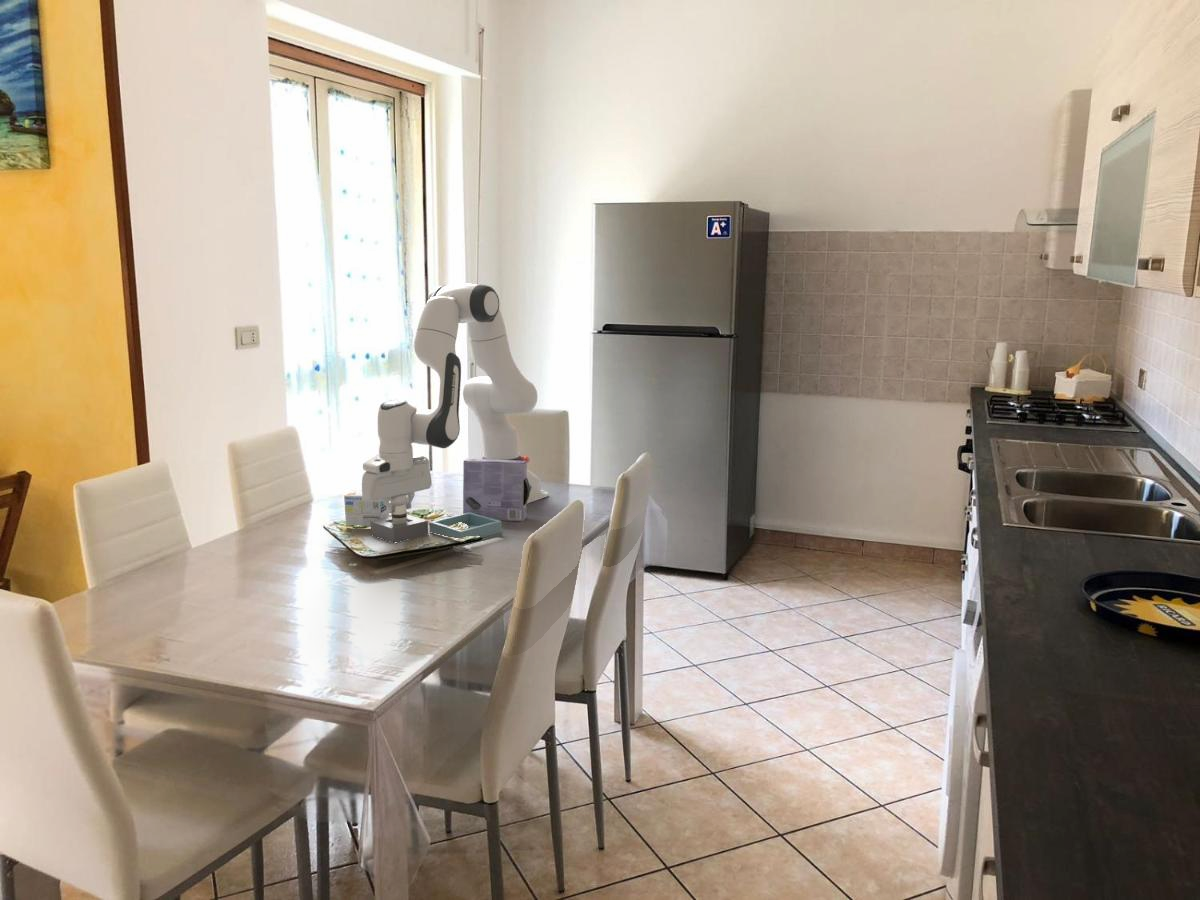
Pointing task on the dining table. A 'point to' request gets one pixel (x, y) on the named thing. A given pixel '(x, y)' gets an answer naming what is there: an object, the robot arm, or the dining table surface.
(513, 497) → the cake pan box
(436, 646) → the dining table surface
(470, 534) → the parts tray
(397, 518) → the white light bulb
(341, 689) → the dining table surface
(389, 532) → the bulb socket block
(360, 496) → the light bulb box
